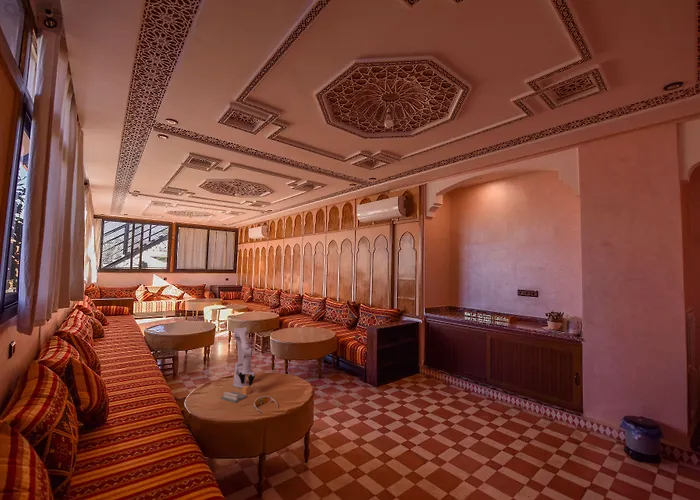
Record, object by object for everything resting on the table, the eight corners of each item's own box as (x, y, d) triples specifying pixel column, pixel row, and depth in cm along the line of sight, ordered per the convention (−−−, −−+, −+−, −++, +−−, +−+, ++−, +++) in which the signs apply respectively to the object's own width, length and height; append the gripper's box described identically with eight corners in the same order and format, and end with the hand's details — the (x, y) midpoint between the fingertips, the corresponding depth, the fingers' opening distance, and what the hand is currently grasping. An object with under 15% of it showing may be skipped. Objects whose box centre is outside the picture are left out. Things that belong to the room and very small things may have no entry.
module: (241, 394, 234) (242, 386, 234) (246, 391, 238) (247, 384, 238) (246, 395, 232) (246, 387, 232) (251, 392, 236) (251, 385, 236)
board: (220, 398, 225) (220, 393, 225) (232, 393, 235) (232, 387, 235) (235, 402, 219) (235, 397, 219) (247, 396, 229) (247, 391, 229)
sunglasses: (269, 400, 223) (270, 393, 223) (280, 411, 212) (281, 404, 212) (250, 406, 214) (251, 399, 213) (260, 418, 203) (261, 411, 202)
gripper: (235, 365, 235) (235, 384, 235) (250, 368, 229) (250, 388, 228) (242, 363, 241) (242, 381, 241) (257, 365, 235) (257, 384, 235)
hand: (246, 384), depth 235 cm, fingers open, 7 cm apart
